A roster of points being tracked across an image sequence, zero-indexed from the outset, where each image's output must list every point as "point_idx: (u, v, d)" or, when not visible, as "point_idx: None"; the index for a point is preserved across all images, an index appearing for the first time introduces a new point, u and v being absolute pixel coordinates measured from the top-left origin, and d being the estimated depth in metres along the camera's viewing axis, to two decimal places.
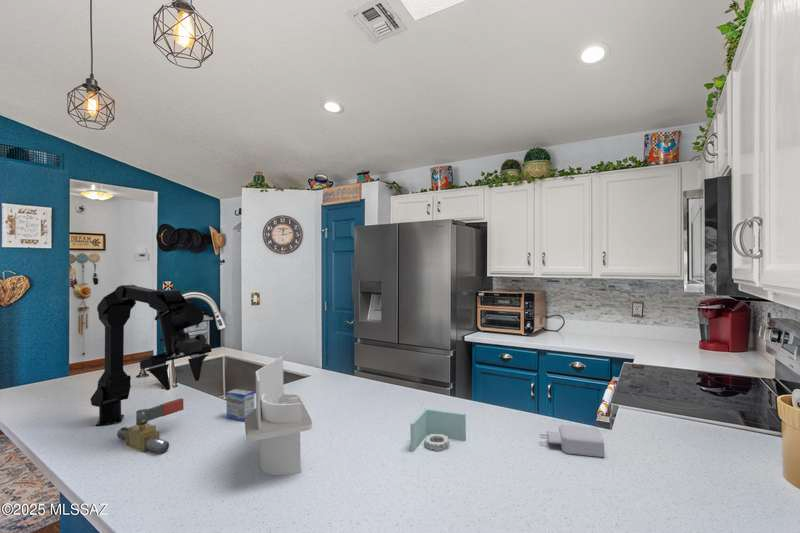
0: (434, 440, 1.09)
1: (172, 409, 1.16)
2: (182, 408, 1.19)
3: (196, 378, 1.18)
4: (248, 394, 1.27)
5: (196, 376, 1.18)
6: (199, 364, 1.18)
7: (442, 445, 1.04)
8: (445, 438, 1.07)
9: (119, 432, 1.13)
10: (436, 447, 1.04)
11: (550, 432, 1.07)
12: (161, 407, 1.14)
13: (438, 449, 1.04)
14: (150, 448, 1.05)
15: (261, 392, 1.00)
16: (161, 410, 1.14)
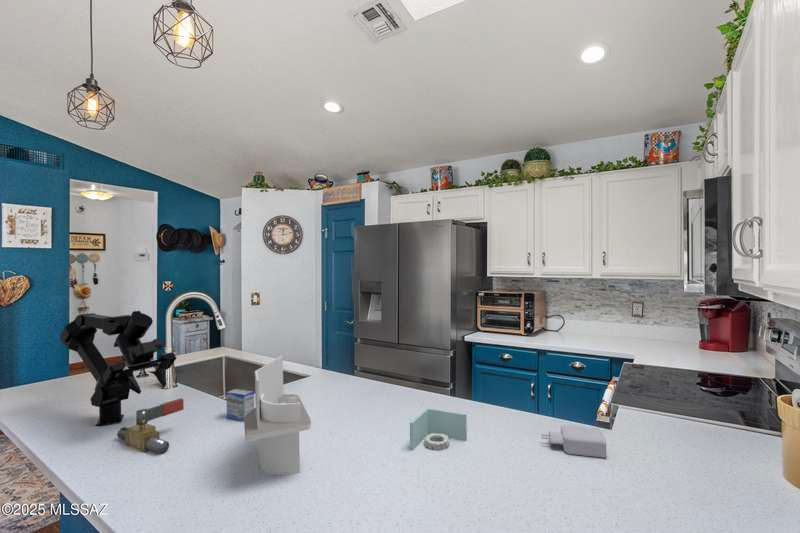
0: (434, 439, 1.10)
1: (172, 409, 1.16)
2: (182, 408, 1.19)
3: (163, 384, 1.20)
4: (248, 394, 1.27)
5: (162, 382, 1.20)
6: (163, 370, 1.22)
7: (441, 444, 1.05)
8: (445, 438, 1.08)
9: (119, 432, 1.13)
10: (435, 446, 1.05)
11: (552, 432, 1.06)
12: (161, 407, 1.14)
13: (437, 448, 1.04)
14: (150, 448, 1.05)
15: (260, 392, 1.00)
16: (161, 410, 1.14)
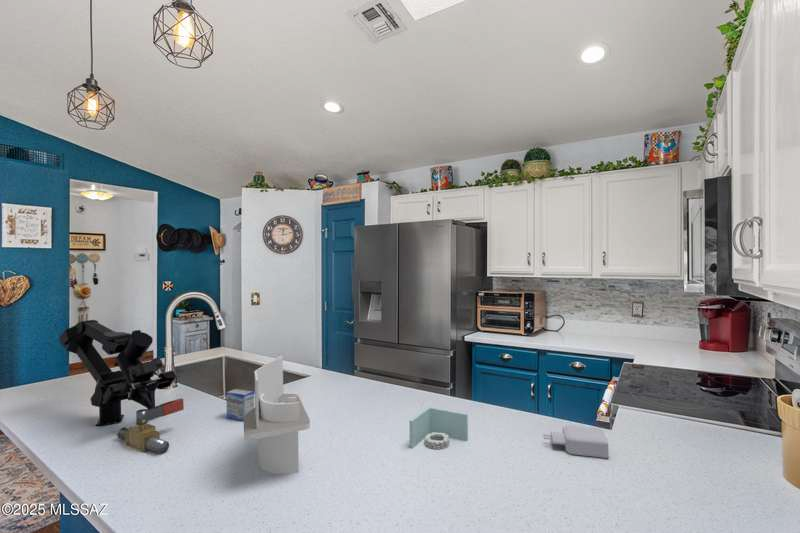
0: (435, 438, 1.10)
1: (172, 409, 1.16)
2: (182, 408, 1.19)
3: (152, 406, 1.17)
4: (248, 394, 1.27)
5: None
6: (152, 392, 1.19)
7: (441, 443, 1.05)
8: (445, 437, 1.08)
9: (119, 432, 1.13)
10: (435, 445, 1.05)
11: (554, 433, 1.06)
12: (161, 407, 1.14)
13: (437, 447, 1.05)
14: (150, 448, 1.05)
15: (260, 391, 1.01)
16: (161, 410, 1.14)
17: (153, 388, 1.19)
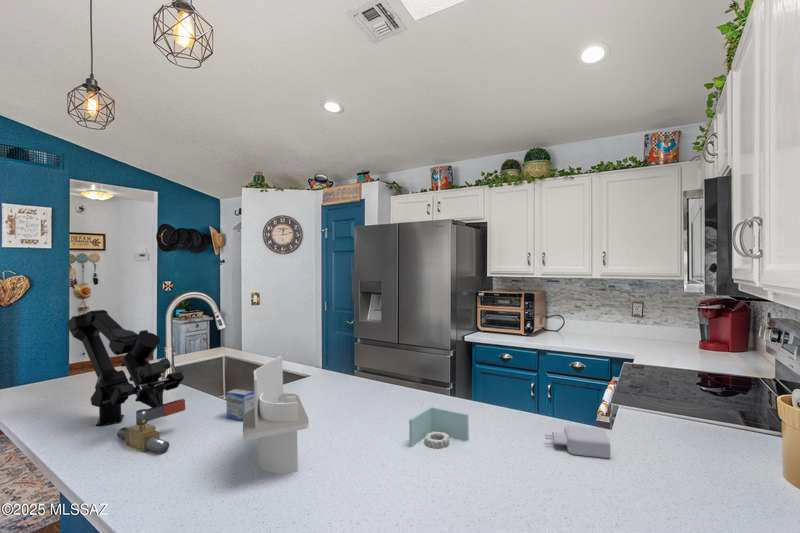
0: (436, 438, 1.11)
1: (173, 410, 1.16)
2: (184, 409, 1.18)
3: None
4: (248, 394, 1.27)
5: None
6: (160, 394, 1.17)
7: (440, 443, 1.05)
8: (445, 436, 1.08)
9: (119, 432, 1.13)
10: (434, 444, 1.06)
11: (555, 433, 1.06)
12: (162, 407, 1.13)
13: (436, 446, 1.05)
14: (150, 448, 1.05)
15: (259, 391, 1.01)
16: (162, 410, 1.13)
17: (161, 389, 1.17)
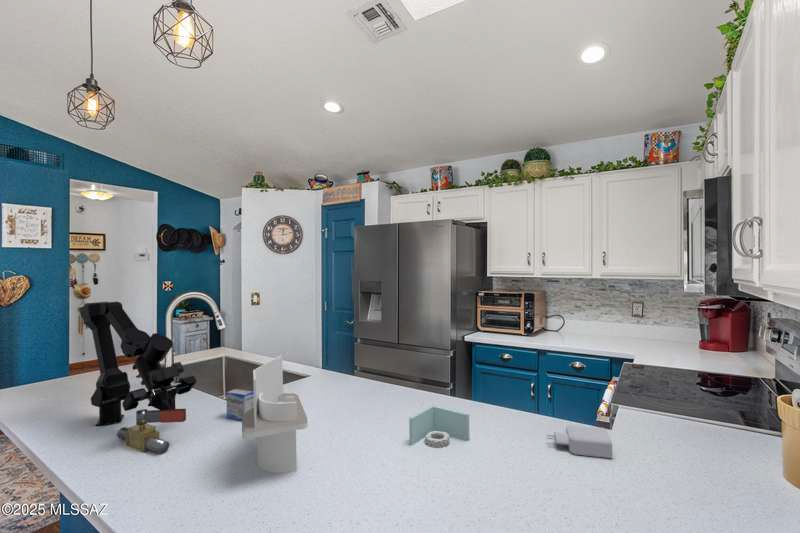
0: (436, 437, 1.11)
1: (170, 418, 1.09)
2: (182, 420, 1.10)
3: None
4: (248, 394, 1.27)
5: None
6: (172, 399, 1.14)
7: (440, 442, 1.06)
8: (445, 436, 1.09)
9: (119, 432, 1.13)
10: (434, 443, 1.06)
11: (557, 433, 1.06)
12: (159, 413, 1.09)
13: (436, 445, 1.06)
14: (150, 448, 1.05)
15: (259, 391, 1.01)
16: (159, 416, 1.09)
17: (173, 394, 1.14)
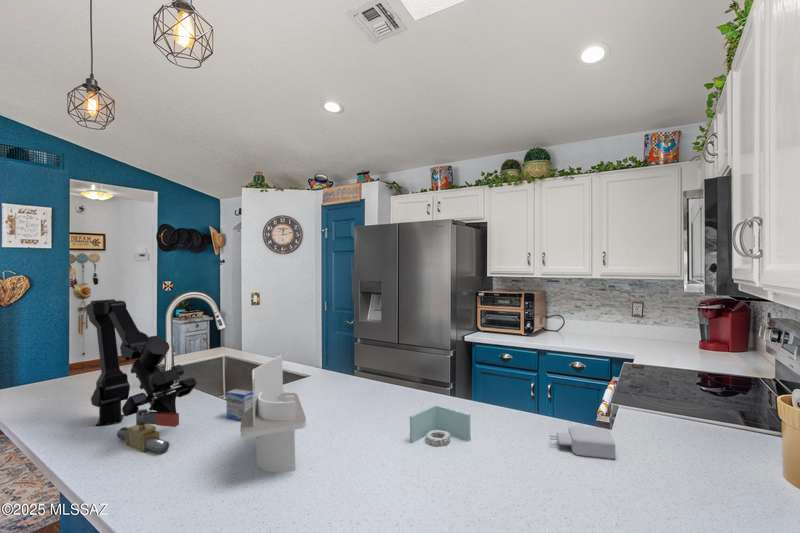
0: (438, 436, 1.12)
1: (163, 422, 1.07)
2: (173, 425, 1.06)
3: None
4: (248, 394, 1.27)
5: None
6: (172, 402, 1.11)
7: (439, 441, 1.07)
8: (446, 435, 1.09)
9: (119, 432, 1.13)
10: (433, 442, 1.07)
11: (560, 433, 1.06)
12: (155, 415, 1.08)
13: (435, 444, 1.07)
14: (150, 448, 1.05)
15: (258, 390, 1.02)
16: (155, 418, 1.08)
17: (173, 398, 1.12)
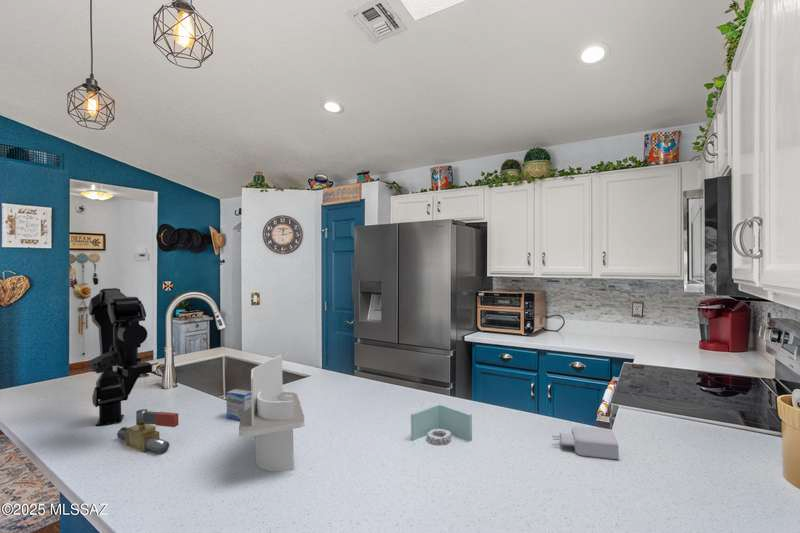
0: (440, 434, 1.13)
1: (163, 422, 1.07)
2: (173, 425, 1.06)
3: None
4: (248, 394, 1.27)
5: None
6: (122, 381, 1.12)
7: (439, 440, 1.07)
8: (447, 434, 1.10)
9: (119, 432, 1.13)
10: (434, 440, 1.08)
11: (563, 434, 1.06)
12: (154, 415, 1.08)
13: (435, 443, 1.08)
14: (150, 448, 1.05)
15: (257, 389, 1.02)
16: (154, 418, 1.08)
17: (121, 378, 1.11)
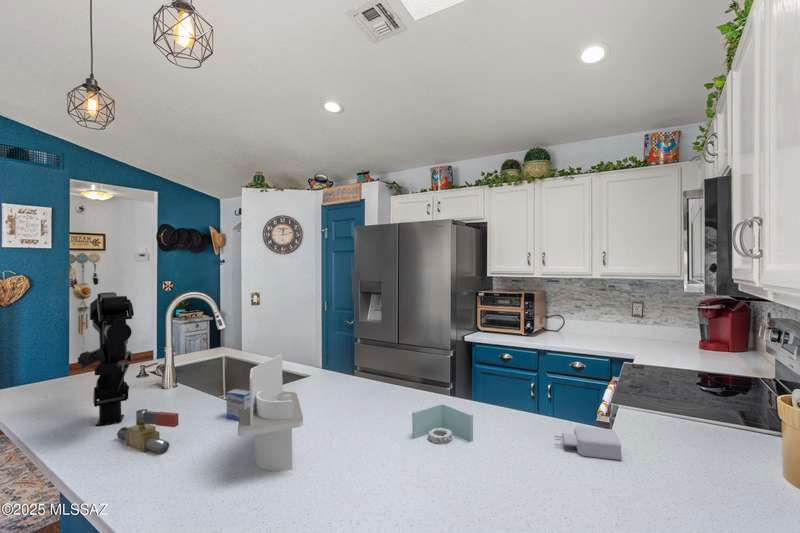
0: (441, 434, 1.13)
1: (163, 422, 1.07)
2: (173, 425, 1.06)
3: None
4: (248, 394, 1.27)
5: None
6: None
7: (439, 439, 1.08)
8: (447, 434, 1.10)
9: (119, 432, 1.13)
10: (434, 439, 1.09)
11: (565, 434, 1.05)
12: (154, 415, 1.08)
13: (435, 442, 1.08)
14: (150, 448, 1.05)
15: (257, 389, 1.03)
16: (154, 418, 1.08)
17: None
